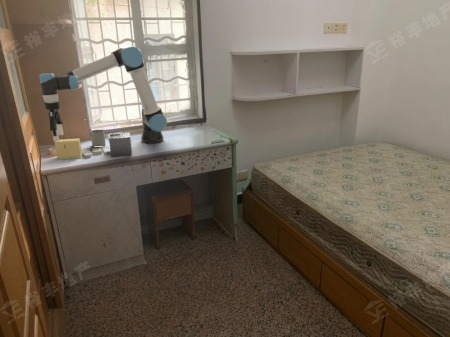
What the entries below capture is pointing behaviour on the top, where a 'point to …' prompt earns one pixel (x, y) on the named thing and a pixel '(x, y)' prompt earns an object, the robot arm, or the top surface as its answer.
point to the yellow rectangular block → (68, 148)
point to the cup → (98, 138)
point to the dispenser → (120, 144)
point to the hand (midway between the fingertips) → (58, 137)
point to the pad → (69, 158)
